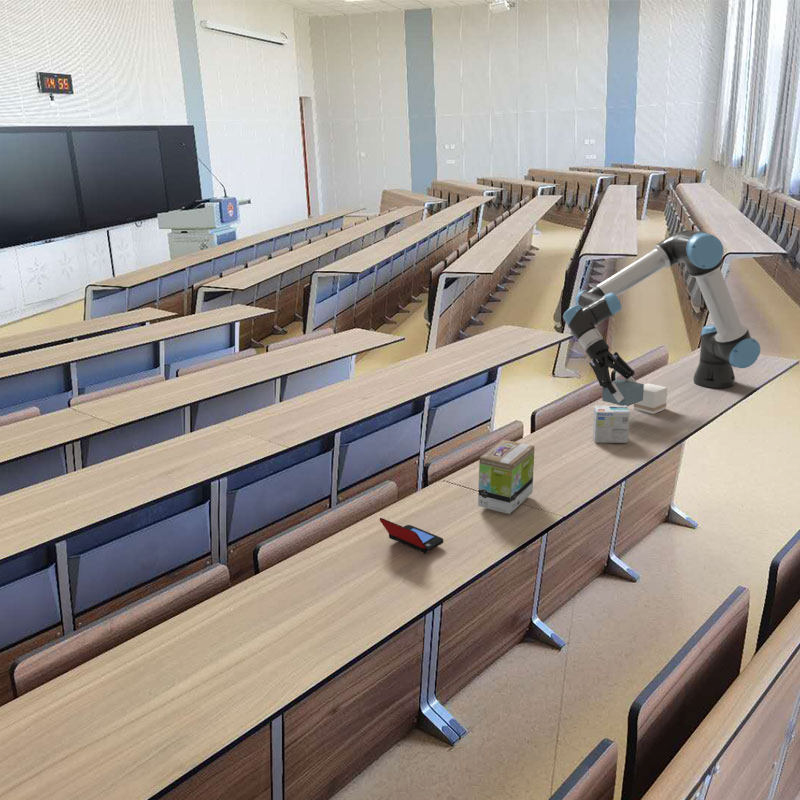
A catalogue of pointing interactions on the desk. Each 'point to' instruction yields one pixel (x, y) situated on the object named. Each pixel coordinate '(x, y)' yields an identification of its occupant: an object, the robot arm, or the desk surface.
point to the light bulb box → (611, 424)
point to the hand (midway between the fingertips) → (630, 397)
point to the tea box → (505, 476)
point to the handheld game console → (412, 536)
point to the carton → (652, 399)
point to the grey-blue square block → (625, 392)
